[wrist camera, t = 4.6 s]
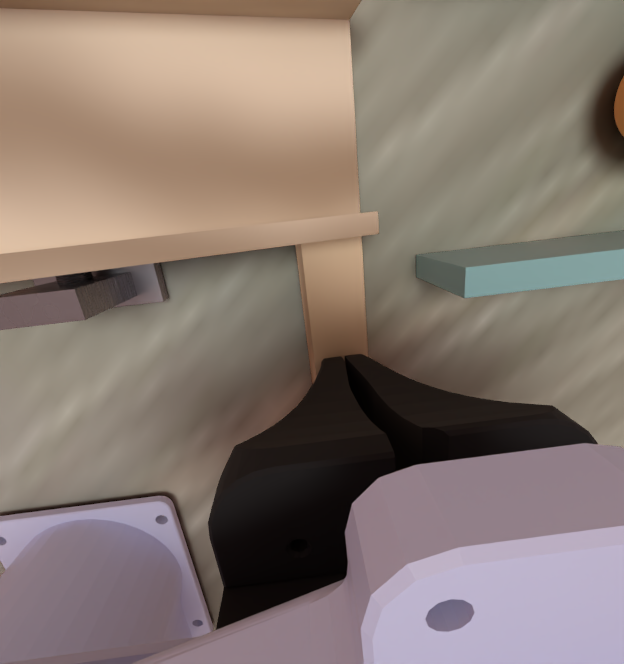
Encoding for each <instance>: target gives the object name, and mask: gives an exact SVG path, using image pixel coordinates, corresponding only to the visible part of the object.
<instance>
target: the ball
mask: <svg viewBox="0 0 624 664" xmlns="http://www.w3.org/2000/svg"><path fill="white" fill-rule="evenodd" d="M614 117H615V121H616V124H617V127H618V129H619V131H620V133H621V134H622V136H623V137H624V76H623V78H622V80H621V82H620V85H619V88H618V90H617V94H616V98H615V104H614Z"/></svg>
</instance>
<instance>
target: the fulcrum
mask: <svg viewBox="0 0 624 664" xmlns="http://www.w3.org/2000/svg"><path fill="white" fill-rule="evenodd" d="M32 280H33V282H34V285H35V286H34V287H30V288H26V289H21V290H17V291H13V292H9V293H5V294H1V295H0V330H4V329H12V328H21V327H29V326H38V325H46V324H55V323H63V322H71V321H80V320H86V319H88V318H90V317H92V316H95V315H97V314H99V313H101V312H103V311H105V310H108V309H110V308H112V307H120V306H128V305H137V304H145V303H154V302H162V301H165V300H166V299H168V298H169V297H168V293H167V290H166V286H165V282H164V278H163V274H162V270H161V267H160V263H151V264H144V265H136V266H128V267H121V268H113V269H105V270H98V271H90V272H83V273H75V274H67V275H60V276H52V277H44V278H37V279H32Z"/></svg>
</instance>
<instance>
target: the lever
mask: <svg viewBox="0 0 624 664" xmlns="http://www.w3.org/2000/svg"><path fill="white" fill-rule="evenodd" d="M360 2H361V0H0V283H6V282H14V281H21V280H29V279H37V278H44V277H52V276H60V275H67V274H75V273H83V272H90V271H98V270H105V269H113V268H121V267H128V266H136V265H144V264H151V263H159V262H167V261H174V260H182V259H190V258H197V257H205V256H213V255H220V254H228V253H235V252H243V251H251V250H258V249H266V248H274V247H281V246H289V245H295V247H296V255H297V263H298V271H299V280H300V288H301V296H302V304H303V312H304V321H305V329H306V337H307V345H308V353H309V362H310V370H311V378H312V385H313V383H314V381H315V379H316V377H317V375H318V373H319V370H320V367H321V362H322V360H323V359H324V358H331V357H339V356H341V357H342V358H343V359H344V361H345V357H344V356H348V355H356V354H363V355H365V356H367V357H368V343H367V325H366V307H365V289H364V271H363V253H362V236H365V235H373V234H379V223H378V211H376V212H367V213H360V200H359V182H358V164H357V146H356V128H355V110H354V92H353V74H352V57H351V39H350V21H349V20H350V18H351V16H352V15H353V13H354V12H355V10H356V8H357V7H358V5H359V4H360Z"/></svg>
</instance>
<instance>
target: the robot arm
mask: <svg viewBox="0 0 624 664" xmlns="http://www.w3.org/2000/svg"><path fill="white" fill-rule="evenodd" d="M344 357H345V361H344V359H343V358H342V357H341V356H339V357H331V358H324V359H323V360H322V362H321V367H320V370H319V373H318V375H317V377H316V379H315V381H314V383H313V385H312V386H311V388H310V390H309V391H308V393H307V394H306V396H305V397H304V398H303V400H302V401H301V402H300V403H299V405H298V406H297V407H296V408H295V409H294V410H292V411H291V412H290V413H289V414H288V415H287V416H286V417H285V418H283V419H282V420H281V421H279V422H278V423H276V424H275V425H274V426H272V427H270V428H269V429H267V430H266V431H264V432H262V433H261V434H259V435H257V436H255V437H253V438H251V439H249V440H247V441H245V442H243V443H241V444H238V445H236V446H235V447H234V449H233V451H232V453H231V455H230V458H229V460H228V462H227V464H226V466H225V468H224V471H223V473H222V475H221V478H220V481H219V484H218V487H217V490H216V494H215V498H214V502H213V505H212V509H211V513H210V517H209V521H208V526H209V536H210V540H211V544H212V547H213V551H214V554H215V558H216V561H217V565H218V568H219V571H220V575H221V578H222V582H223V585H224V591H223V596H222V602H221V607H220V612H219V617H218V623H217V628H216V630H215V631H213V624H212V621H211V618H210V615H209V612H208V609H207V606H206V603H205V600H204V597H203V593H202V590H201V587H200V584H199V581H198V578H197V575H196V572H195V569H194V566H193V563H192V560H191V557H190V554H189V550H188V547H187V544H186V541H185V538H184V535H183V532H182V529H181V526H180V523H179V520H178V517H177V514H176V511H175V507H174V504H173V502H172V500H171V499H169V498H168V497H166V496H153V497H145V498H137V499H130V500H122V501H114V502H106V503H98V504H91V505H83V506H75V507H67V508H59V509H52V510H44V511H36V512H28V513H21V514H13V515H5V516H0V561H1V563H2V564H3V566H4V568H5V569H6V570H5V572H4V573H3V574H2V575H1V577H0V664H624V449H623V448H622V447H618V446H608V445H598V444H597V442H596V440H595V439H594V438H593V437H592V435H591V434H590V433H589V431H587V430H586V429H584V428H583V427H582V426H580V425H579V424H577V423H576V422H575V421H573V420H572V419H570V418H569V417H568V416H566V415H565V414H563V413H562V412H561V411H559V410H558V409H556V408H555V407H554V406H550V405H536V404H522V403H509V402H501V401H494V400H487V399H480V398H475V397H469V396H464V395H460V394H456V393H452V392H447V391H444V390H440V389H437V388H434V387H431V386H428V385H425V384H422V383H419V382H416V381H414V380H412V379H409V378H407V377H405V376H403V375H400V374H398V373H396V372H394V371H392V370H390V369H388V368H387V367H385V366H383V365H381V364H379V363H378V362H376V361H374V360H372V359H371V358H369V357H367V356H365V355H363V354H356V355H348V356H344ZM162 515H163V516H162Z"/></svg>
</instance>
